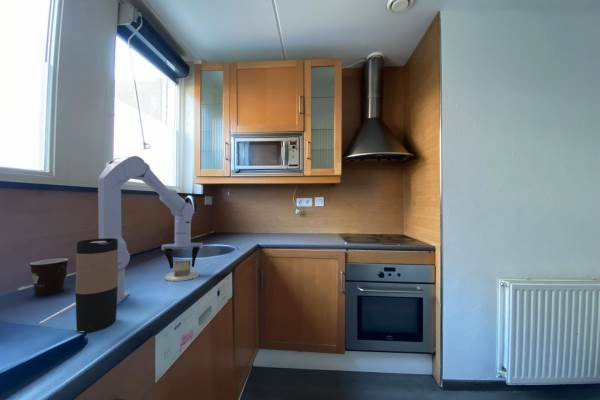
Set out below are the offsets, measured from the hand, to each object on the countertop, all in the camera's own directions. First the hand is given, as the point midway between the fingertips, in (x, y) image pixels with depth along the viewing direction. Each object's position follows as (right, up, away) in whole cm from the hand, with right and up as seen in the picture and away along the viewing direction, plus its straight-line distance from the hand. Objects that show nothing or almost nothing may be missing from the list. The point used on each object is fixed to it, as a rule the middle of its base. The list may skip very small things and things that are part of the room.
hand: (182, 267), depth 95 cm
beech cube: (0, -3, 0) cm, 3 cm away
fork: (-17, -4, -28) cm, 33 cm away
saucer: (0, -4, 0) cm, 4 cm away
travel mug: (-2, -3, -38) cm, 38 cm away
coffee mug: (-34, -4, -18) cm, 39 cm away
